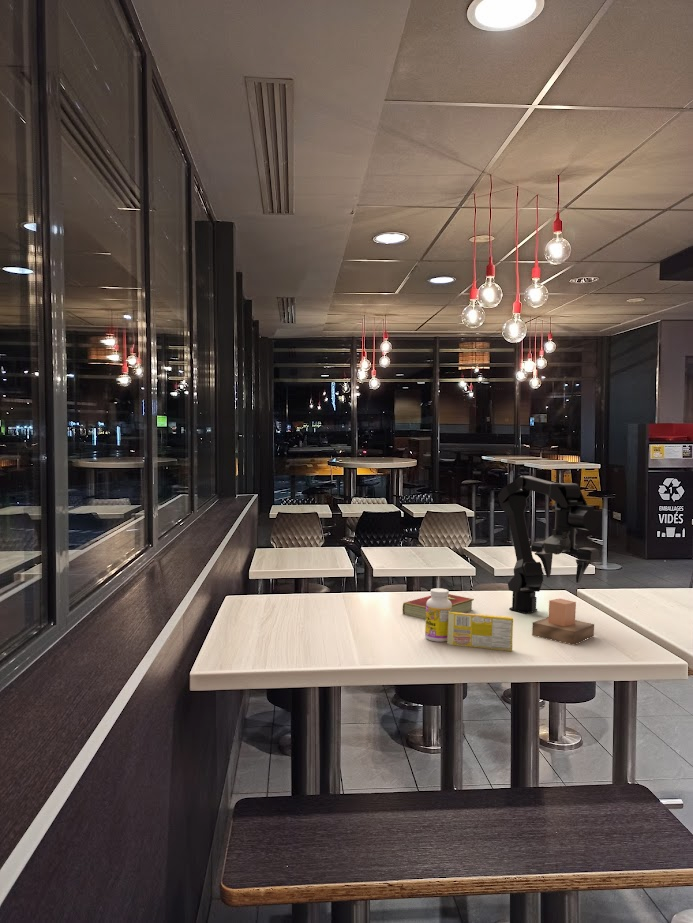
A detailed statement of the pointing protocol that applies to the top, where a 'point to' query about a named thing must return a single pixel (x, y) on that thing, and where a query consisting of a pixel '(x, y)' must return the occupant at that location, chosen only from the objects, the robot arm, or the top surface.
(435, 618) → the supplement bottle
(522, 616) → the top surface
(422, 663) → the top surface
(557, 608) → the pink clay cube
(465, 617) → the candy box
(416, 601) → the hardcover book
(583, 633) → the walnut block
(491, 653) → the top surface
